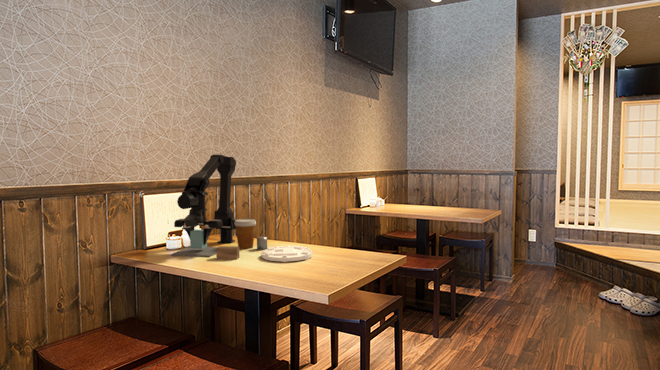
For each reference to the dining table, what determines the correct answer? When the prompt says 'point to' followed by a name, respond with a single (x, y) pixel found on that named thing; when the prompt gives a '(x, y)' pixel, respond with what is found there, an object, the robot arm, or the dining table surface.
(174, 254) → the slate mat
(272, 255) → the white round plaque
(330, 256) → the dining table surface
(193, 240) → the teal block
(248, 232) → the disposable coffee cup
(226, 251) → the walnut block
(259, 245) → the metal canister
